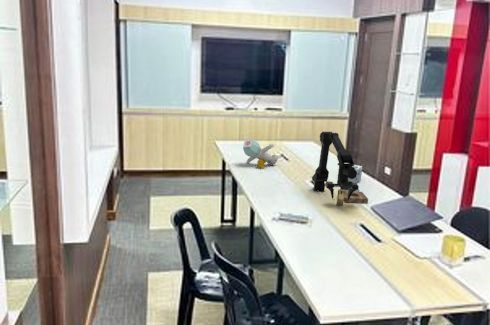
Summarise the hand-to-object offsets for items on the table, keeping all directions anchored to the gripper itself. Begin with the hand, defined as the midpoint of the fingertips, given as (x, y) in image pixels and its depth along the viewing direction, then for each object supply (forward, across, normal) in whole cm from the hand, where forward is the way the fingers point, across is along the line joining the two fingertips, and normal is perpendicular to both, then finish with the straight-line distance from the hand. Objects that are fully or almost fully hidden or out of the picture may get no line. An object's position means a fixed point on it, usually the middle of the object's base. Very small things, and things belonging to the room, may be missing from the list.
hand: (340, 199), depth 268 cm
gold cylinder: (+3, 0, 0) cm, 3 cm away
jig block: (+3, +11, +11) cm, 16 cm away
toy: (+4, -44, +82) cm, 93 cm away
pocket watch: (+4, +14, +28) cm, 31 cm away
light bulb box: (+4, +22, +52) cm, 57 cm away
